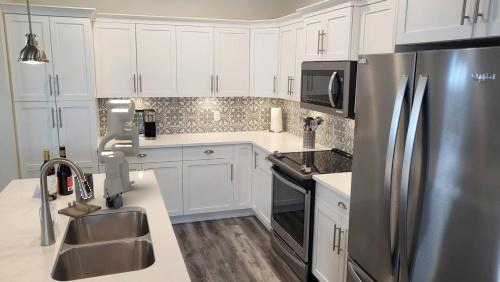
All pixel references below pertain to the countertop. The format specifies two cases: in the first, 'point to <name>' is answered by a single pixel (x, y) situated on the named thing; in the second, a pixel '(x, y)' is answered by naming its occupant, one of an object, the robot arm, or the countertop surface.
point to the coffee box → (77, 188)
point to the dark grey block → (116, 202)
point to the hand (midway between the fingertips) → (114, 205)
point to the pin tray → (78, 209)
